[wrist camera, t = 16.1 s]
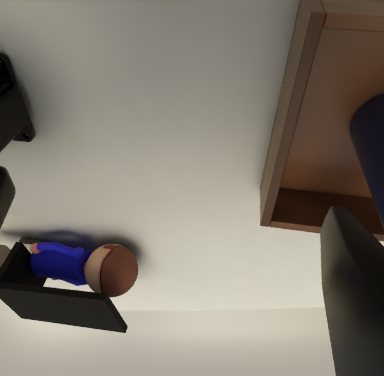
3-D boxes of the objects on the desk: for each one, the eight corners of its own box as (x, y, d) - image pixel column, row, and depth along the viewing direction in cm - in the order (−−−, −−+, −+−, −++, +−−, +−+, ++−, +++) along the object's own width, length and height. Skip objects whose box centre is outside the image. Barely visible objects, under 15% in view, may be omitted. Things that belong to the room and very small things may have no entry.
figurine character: (36, 256, 40) (152, 272, 35) (-8, 316, 34) (123, 344, 30) (6, 217, 35) (135, 229, 31) (-49, 278, 30) (97, 305, 25)
